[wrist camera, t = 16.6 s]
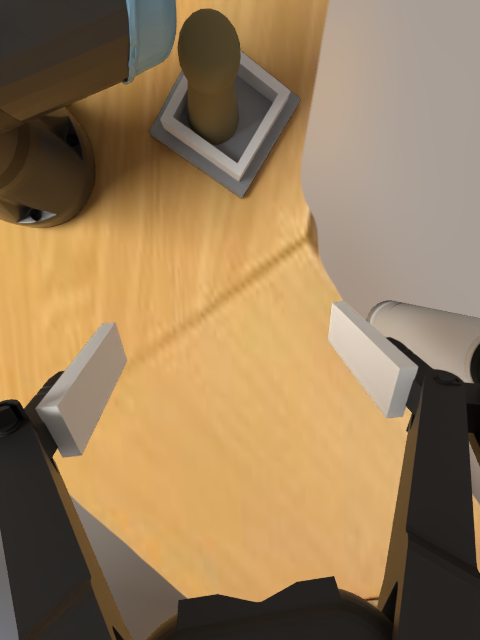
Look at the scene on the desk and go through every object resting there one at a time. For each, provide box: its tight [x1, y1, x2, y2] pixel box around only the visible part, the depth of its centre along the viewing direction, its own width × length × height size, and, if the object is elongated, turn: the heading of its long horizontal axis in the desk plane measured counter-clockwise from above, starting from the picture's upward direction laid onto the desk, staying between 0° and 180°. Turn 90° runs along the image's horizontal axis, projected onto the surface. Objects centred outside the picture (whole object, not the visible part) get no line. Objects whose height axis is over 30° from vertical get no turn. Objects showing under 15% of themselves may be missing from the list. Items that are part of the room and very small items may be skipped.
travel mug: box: [366, 301, 480, 384], centre depth 29 cm, size 6×7×20 cm
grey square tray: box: [150, 50, 301, 199], centre depth 31 cm, size 13×13×3 cm
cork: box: [178, 9, 241, 145], centre depth 26 cm, size 6×6×11 cm
